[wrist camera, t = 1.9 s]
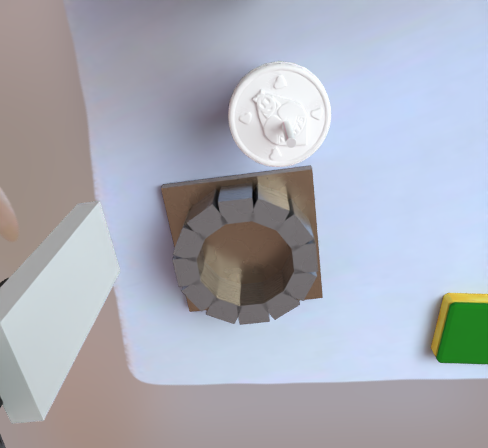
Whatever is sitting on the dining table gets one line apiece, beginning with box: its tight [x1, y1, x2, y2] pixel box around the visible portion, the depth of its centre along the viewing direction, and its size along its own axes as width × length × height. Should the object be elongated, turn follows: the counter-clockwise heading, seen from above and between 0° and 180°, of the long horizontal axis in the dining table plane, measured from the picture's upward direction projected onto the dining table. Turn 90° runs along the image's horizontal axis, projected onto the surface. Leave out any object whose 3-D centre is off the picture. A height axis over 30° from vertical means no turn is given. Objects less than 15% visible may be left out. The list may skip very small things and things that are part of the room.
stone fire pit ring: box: [161, 166, 323, 325], centre depth 40 cm, size 13×13×4 cm
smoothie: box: [228, 61, 331, 167], centre depth 30 cm, size 6×6×14 cm
